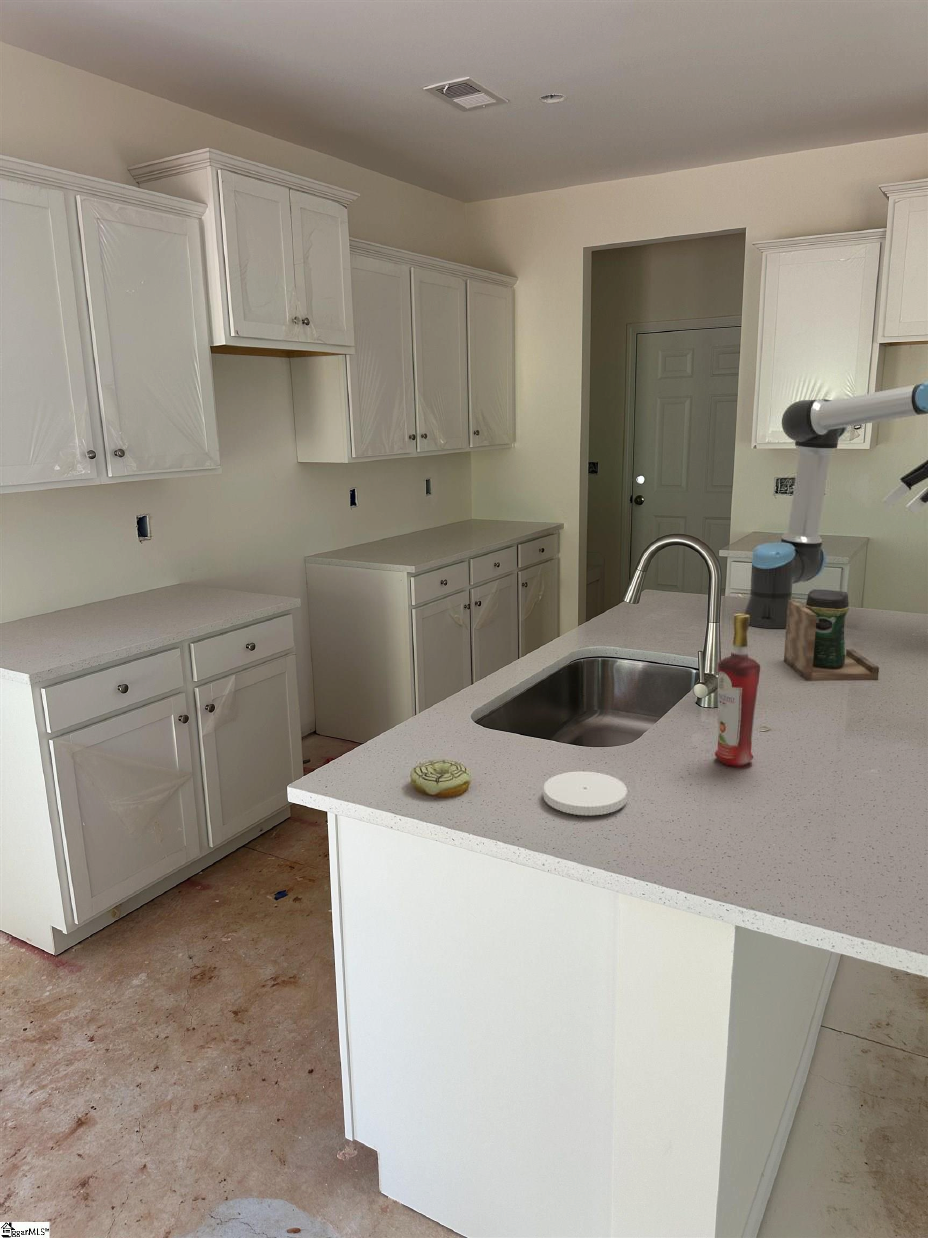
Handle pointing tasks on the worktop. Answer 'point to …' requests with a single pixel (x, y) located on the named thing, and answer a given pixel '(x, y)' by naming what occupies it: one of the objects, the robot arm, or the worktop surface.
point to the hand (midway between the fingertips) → (897, 507)
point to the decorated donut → (441, 778)
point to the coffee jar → (828, 626)
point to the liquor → (737, 699)
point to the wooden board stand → (802, 650)
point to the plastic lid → (585, 793)
